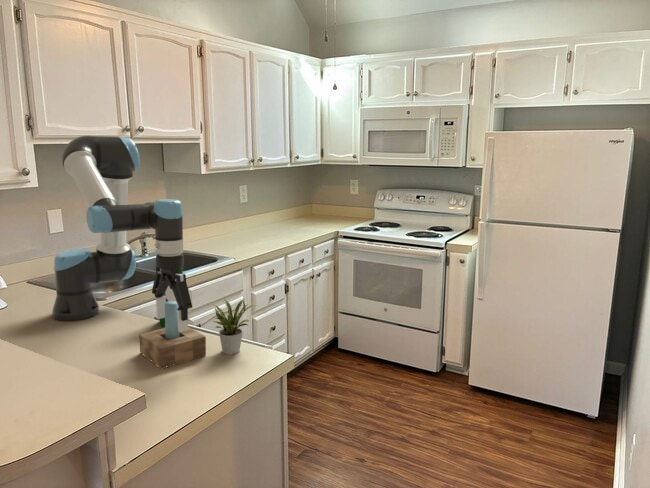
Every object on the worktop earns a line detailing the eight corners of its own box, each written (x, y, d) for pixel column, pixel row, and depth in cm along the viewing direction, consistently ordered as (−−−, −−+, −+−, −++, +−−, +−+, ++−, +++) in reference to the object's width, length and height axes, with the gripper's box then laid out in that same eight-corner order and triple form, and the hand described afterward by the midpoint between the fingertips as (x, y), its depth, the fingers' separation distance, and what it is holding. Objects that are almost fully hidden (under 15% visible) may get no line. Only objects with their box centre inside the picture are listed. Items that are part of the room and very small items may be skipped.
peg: (163, 354, 146) (162, 302, 143) (175, 350, 149) (174, 300, 146) (169, 358, 143) (168, 306, 140) (182, 354, 146) (181, 303, 143)
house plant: (258, 340, 159) (258, 292, 155) (259, 358, 145) (259, 305, 142) (213, 342, 156) (212, 292, 153) (209, 360, 143) (208, 306, 140)
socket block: (140, 353, 146) (139, 334, 145) (183, 341, 156) (182, 323, 155) (161, 368, 136) (160, 348, 135) (205, 355, 146) (205, 336, 145)
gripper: (138, 248, 147) (141, 315, 151) (178, 263, 129) (180, 339, 133) (162, 245, 152) (164, 310, 156) (203, 259, 134) (205, 333, 138)
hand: (172, 324), depth 144 cm, fingers open, 13 cm apart
